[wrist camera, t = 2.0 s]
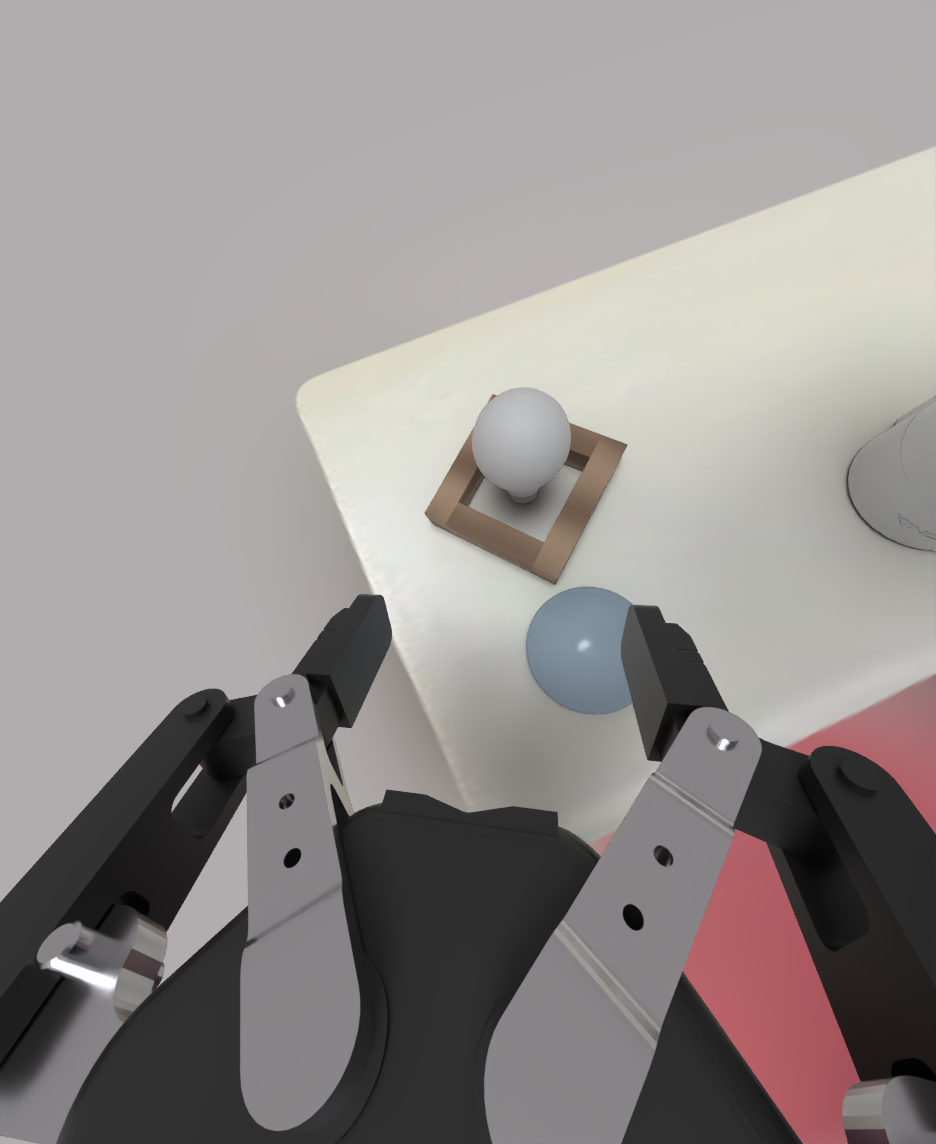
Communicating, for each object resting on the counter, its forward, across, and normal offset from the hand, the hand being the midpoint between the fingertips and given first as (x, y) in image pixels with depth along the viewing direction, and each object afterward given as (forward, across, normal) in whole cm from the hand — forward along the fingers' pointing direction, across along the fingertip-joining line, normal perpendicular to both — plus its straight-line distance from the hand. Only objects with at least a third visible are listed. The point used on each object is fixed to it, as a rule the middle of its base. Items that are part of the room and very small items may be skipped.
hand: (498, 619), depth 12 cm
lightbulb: (+20, 0, +4) cm, 21 cm away
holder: (+20, 0, +3) cm, 20 cm away
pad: (+11, -5, +12) cm, 18 cm away
